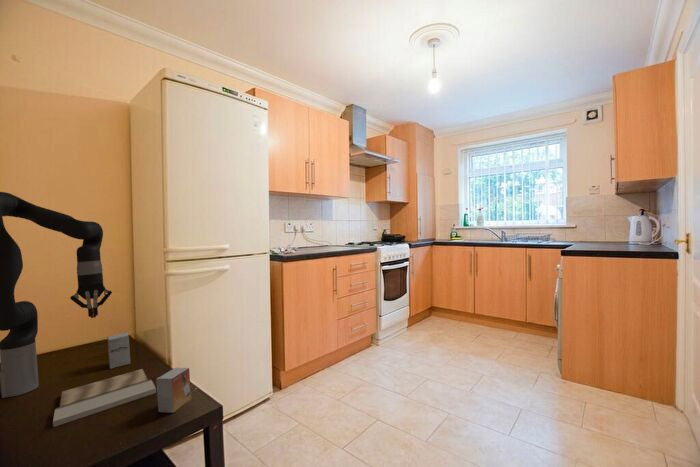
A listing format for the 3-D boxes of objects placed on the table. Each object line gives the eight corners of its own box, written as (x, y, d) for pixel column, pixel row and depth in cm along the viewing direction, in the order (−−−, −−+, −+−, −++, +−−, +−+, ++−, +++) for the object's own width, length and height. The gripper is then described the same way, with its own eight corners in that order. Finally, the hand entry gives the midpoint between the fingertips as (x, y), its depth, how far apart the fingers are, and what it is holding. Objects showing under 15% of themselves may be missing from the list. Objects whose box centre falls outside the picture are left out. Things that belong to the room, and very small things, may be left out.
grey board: (53, 427, 91) (52, 421, 91) (55, 413, 99) (55, 408, 99) (156, 392, 108) (155, 388, 108) (151, 383, 116) (151, 379, 116)
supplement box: (109, 369, 132) (107, 339, 132) (109, 364, 138) (107, 335, 138) (130, 363, 137) (128, 335, 137) (129, 359, 142) (127, 331, 142)
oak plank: (60, 411, 100) (59, 406, 100) (62, 396, 111) (62, 391, 111) (148, 383, 116) (147, 379, 116) (142, 372, 126) (142, 368, 126)
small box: (173, 413, 94) (171, 379, 94) (157, 412, 96) (155, 378, 95) (191, 399, 102) (189, 367, 102) (177, 398, 103) (175, 367, 103)
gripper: (110, 270, 127) (113, 312, 128) (67, 274, 119) (70, 319, 119) (112, 271, 122) (115, 315, 122) (66, 275, 113) (70, 323, 113)
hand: (93, 317), depth 120 cm, fingers closed
